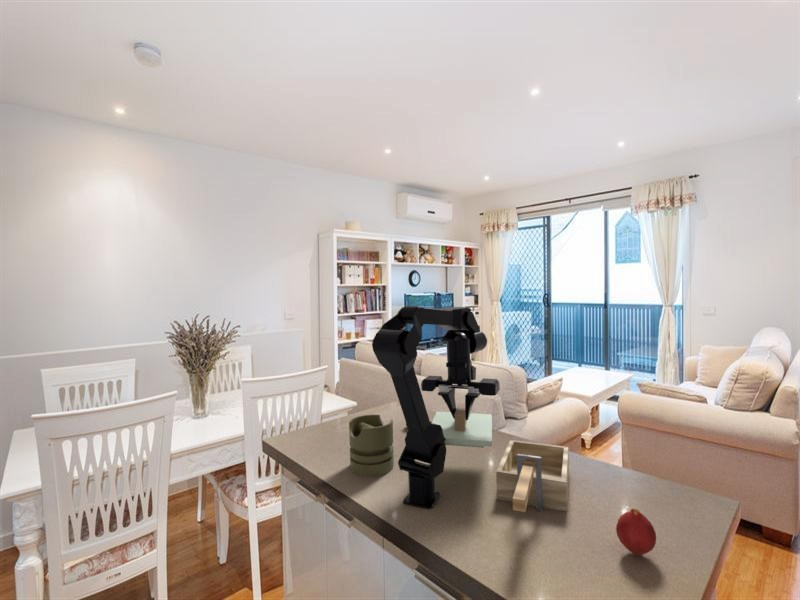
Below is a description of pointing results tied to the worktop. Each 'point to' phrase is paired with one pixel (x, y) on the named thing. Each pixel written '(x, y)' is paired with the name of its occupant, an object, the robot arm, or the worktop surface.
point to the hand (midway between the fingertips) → (461, 419)
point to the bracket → (538, 475)
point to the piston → (371, 446)
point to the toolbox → (552, 473)
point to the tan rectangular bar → (523, 489)
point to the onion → (636, 532)
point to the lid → (465, 428)
